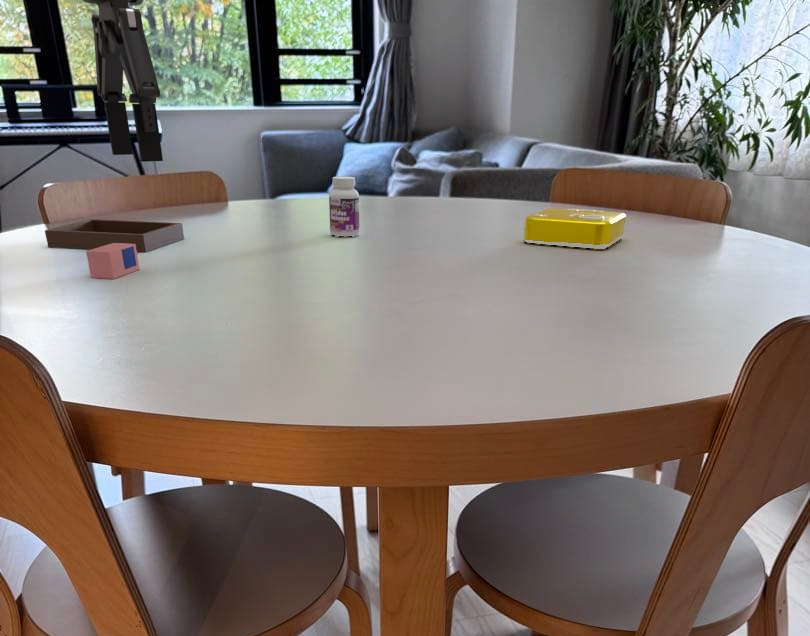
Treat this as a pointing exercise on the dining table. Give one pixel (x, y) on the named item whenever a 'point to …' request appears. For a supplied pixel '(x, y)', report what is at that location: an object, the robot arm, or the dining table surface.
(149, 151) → the robot arm
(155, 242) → the tray
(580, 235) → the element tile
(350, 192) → the pill bottle
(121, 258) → the eraser
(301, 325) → the dining table surface
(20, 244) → the dining table surface
